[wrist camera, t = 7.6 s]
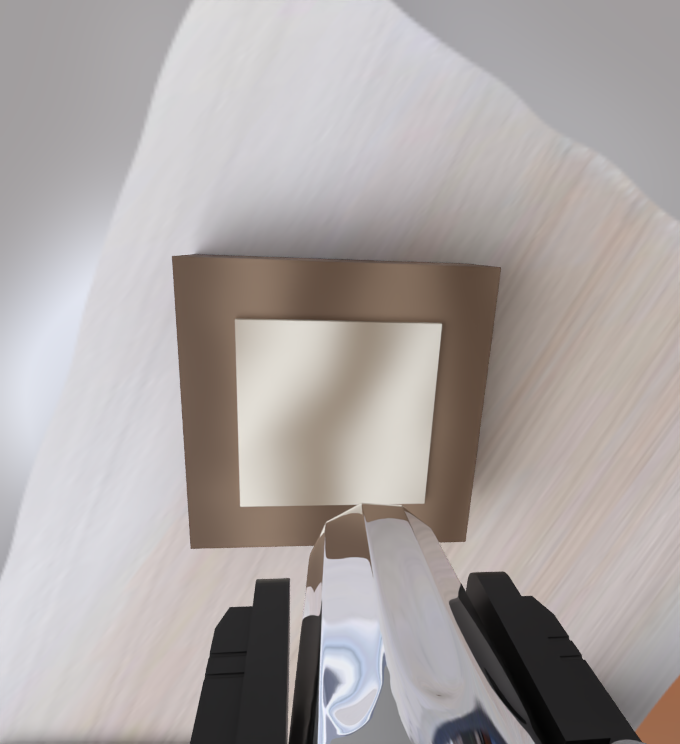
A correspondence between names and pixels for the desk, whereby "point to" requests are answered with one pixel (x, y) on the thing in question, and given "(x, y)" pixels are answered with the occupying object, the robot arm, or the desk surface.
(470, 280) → the plinth
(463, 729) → the milkshake
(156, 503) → the desk surface
